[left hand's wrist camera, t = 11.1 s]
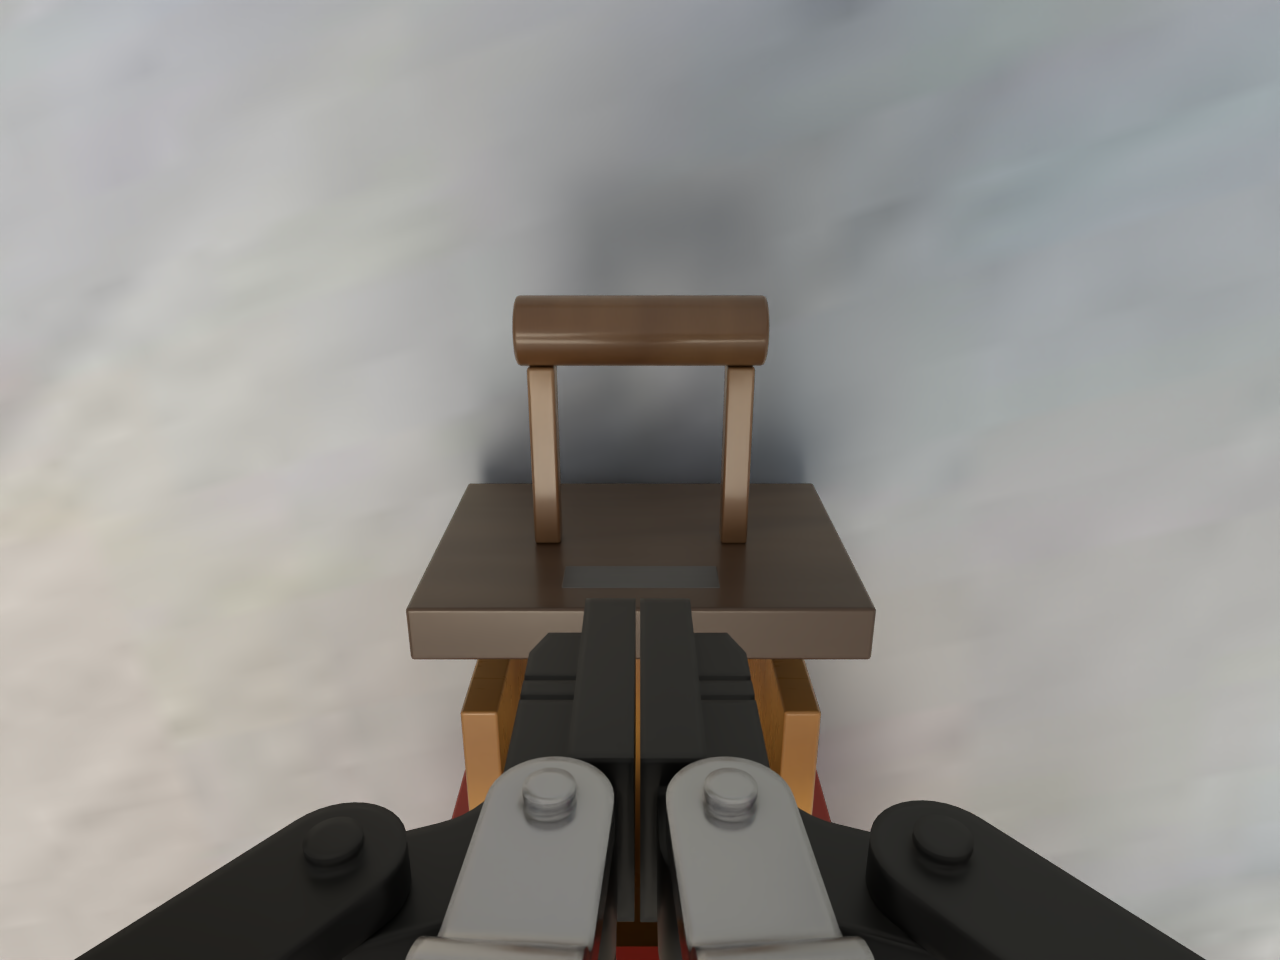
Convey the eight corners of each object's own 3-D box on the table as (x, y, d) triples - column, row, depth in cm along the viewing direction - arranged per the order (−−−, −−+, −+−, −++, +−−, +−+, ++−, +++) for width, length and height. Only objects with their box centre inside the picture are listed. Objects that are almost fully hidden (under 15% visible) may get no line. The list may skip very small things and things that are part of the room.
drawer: (452, 271, 22) (374, 326, 15) (829, 272, 22) (908, 326, 15) (506, 991, 31) (471, 1217, 24) (774, 991, 31) (810, 1217, 24)
